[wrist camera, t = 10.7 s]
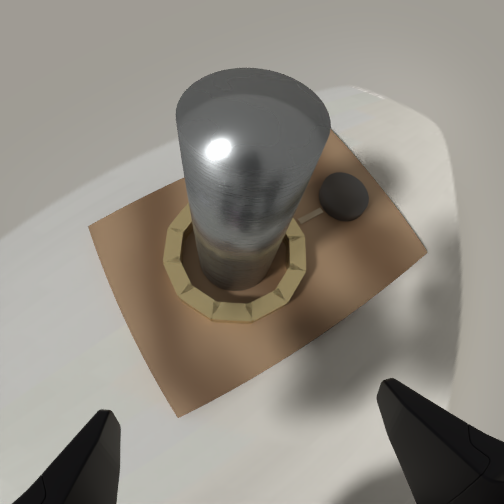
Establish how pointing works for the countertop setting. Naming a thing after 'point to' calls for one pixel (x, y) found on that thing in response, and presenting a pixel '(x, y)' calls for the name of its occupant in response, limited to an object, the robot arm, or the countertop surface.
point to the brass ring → (223, 310)
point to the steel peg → (246, 166)
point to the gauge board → (279, 322)
